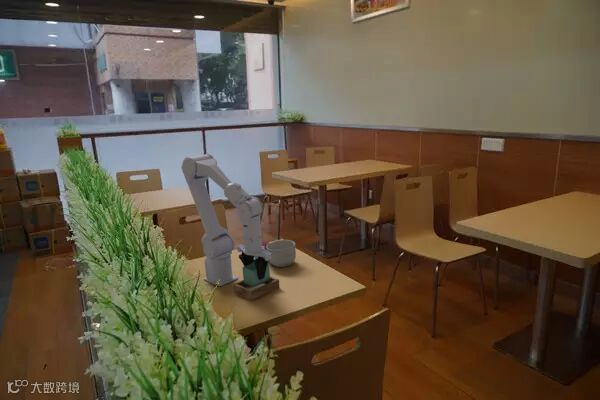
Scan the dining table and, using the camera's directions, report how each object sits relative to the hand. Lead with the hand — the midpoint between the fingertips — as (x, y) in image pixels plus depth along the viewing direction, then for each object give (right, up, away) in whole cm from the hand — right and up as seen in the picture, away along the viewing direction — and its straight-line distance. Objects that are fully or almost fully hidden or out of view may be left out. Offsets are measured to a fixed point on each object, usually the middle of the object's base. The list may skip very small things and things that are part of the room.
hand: (255, 276), depth 132 cm
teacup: (+8, +1, +23) cm, 25 cm away
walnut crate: (0, -5, +1) cm, 5 cm away
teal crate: (0, -2, +1) cm, 2 cm away
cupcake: (-1, +2, +29) cm, 29 cm away
